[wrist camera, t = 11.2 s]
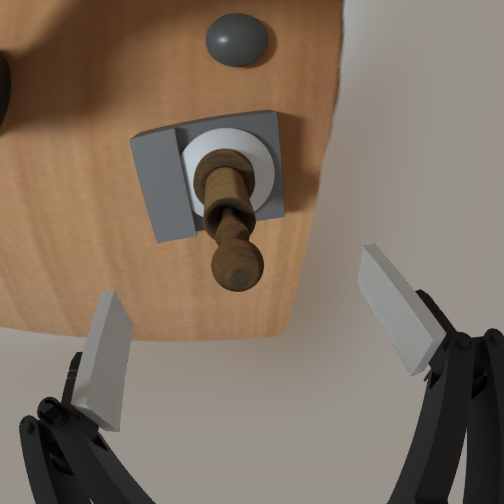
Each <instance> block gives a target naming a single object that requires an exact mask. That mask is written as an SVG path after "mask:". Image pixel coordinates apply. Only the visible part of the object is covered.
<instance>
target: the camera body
mask: <svg viewBox="0 0 504 504" xmlns="http://www.w3.org/2000/svg"><path fill="white" fill-rule="evenodd" d="M129 141H130V145H131V149H132V154H133V158H134V162H135V166H136V170H137V174H138V178H139V182H140V185H141V189H142V193H143V196H144V200H145V204H146V207H147V211H148V214H149V217H150V221H151V224H152V227H153V231H154V234H155V237H156V240H157V243H161V242H166V241H172V240H177V239H183V238H188V237H194V236H197V231H201V230H205V228H204V224H203V214H204V205H203V204H202V203H201V202H200V201H199V200H198V198H197V197H196V194H195V192H194V188H193V179H194V173H195V170H196V167H197V165H198V163H199V162H200V160H201V159H202V158H203V157H204V156H205V155H206V154H208V153H209V152H211V151H213V150H216V149H223V148H226V149H232V150H235V151H237V152H239V153H241V154H242V155H243V156H244V157H245V158H246V159H247V160H248V161H249V163H250V165H251V167H252V169H253V172H254V176H255V188H254V191H253V194H252V196H251V197H250V202H251V205H252V207H253V210H254V213H255V217H256V221H260V220H267V219H273V218H280V217H285V211H284V195H283V180H282V166H281V153H280V141H279V129H278V118H277V112H275V111H272V110H262V111H252V112H244V113H236V114H229V115H222V116H215V117H209V118H203V119H198V120H193V121H187V122H182V123H178V124H173V125H168V126H164V127H160V128H155V129H151V130H147V131H143V132H140V133H139V134H137V135H135V136H134V137H132V138H131V139H129Z"/></svg>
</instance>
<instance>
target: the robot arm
mask: <svg viewBox="0 0 504 504" xmlns="http://www.w3.org/2000/svg"><path fill="white" fill-rule="evenodd" d="M9 95H10V72H9V68H8V65H7V63H6V61H5V59H4V58H3V57H2V56H1V55H0V125H1V123H2V121H3V118H4V116H5V113H6V110H7V106H8V101H9ZM357 286H358V288H359V289H360V291H361V293H362V294H363V296H364V297H365V299H366V300H367V302H368V304H369V305H370V307H371V308H372V310H373V312H374V313H375V315H376V317H377V318H378V320H379V321H380V323H381V325H382V326H383V328H384V330H385V332H386V333H387V335H388V336H389V338H390V340H391V342H392V343H393V345H394V347H395V349H396V350H397V352H398V354H399V356H400V357H401V359H402V361H403V363H404V364H405V366H406V368H407V370H408V372H409V374H410V376H413V375H415V374H418V373H420V372H422V371H424V370H425V368H426V367H427V365H428V364H429V365H430V367H431V370H430V371H429V372H428V374H427V375H426V377H425V379H424V381H426V380H427V379H428V382H427V387H426V392H425V396H424V401H423V405H422V409H421V413H420V416H419V420H418V424H417V427H416V430H415V434H414V437H413V441H412V444H411V447H410V449H409V452H408V455H407V458H406V461H405V464H404V466H403V469H402V471H401V474H400V476H399V479H398V481H397V483H396V486H395V488H394V490H393V493H392V495H391V497H390V499H389V501H388V503H387V504H448V500H447V499H448V496H449V493H450V490H451V487H452V484H453V481H454V478H455V474H456V471H457V467H458V464H459V460H460V456H461V451H462V448H463V443H464V438H465V434H466V428H467V463H466V464H467V465H466V478H465V489H464V497H463V504H504V336H503V334H502V333H501V332H500V331H499V330H497V329H493V328H491V329H488V330H487V331H486V333H485V334H484V336H482V337H473V338H471V337H470V336H469V335H468V334H466V333H463V332H457V331H456V330H455V328H454V327H453V326H452V324H451V323H450V321H449V320H448V319H447V317H446V316H445V315H444V313H443V312H442V311H441V310H440V309H439V307H438V306H437V304H435V302H434V301H433V299H432V298H431V297H430V296H429V295H428V294H427V293H425V292H424V291H422V290H421V289H420V290H417V291H414V290H413V288H412V287H411V286H410V285H409V283H408V282H407V281H406V280H405V279H404V277H403V276H402V275H401V274H400V272H399V271H398V270H397V269H396V268H395V266H394V265H393V264H392V263H391V262H390V260H389V259H388V258H387V257H386V256H385V255H384V253H383V252H382V251H381V250H380V249H379V248H378V247H377V246H376V244H371V245H365V246H363V248H362V256H361V263H360V269H359V275H358V281H357ZM133 326H134V325H133V323H132V321H131V319H130V318H129V316H128V314H127V312H126V310H125V309H124V307H123V305H122V303H121V301H120V299H119V297H118V295H117V293H116V291H115V290H109V291H103V292H102V294H101V297H100V300H99V303H98V306H97V309H96V312H95V315H94V318H93V321H92V324H91V327H90V330H89V333H88V337H87V340H86V344H85V347H84V350H83V352H77V353H76V354H75V356H74V358H73V359H72V361H71V364H70V368H69V372H68V375H67V379H66V384H65V387H64V392H63V396H62V400H61V403H60V402H59V401H58V400H57V399H55V398H53V397H47V398H45V399H43V400H42V401H41V402H40V404H39V406H38V410H37V415H38V418H40V420H37V419H36V418H35V417H33V416H30V415H28V416H25V417H24V418H23V419H22V420H21V422H20V426H19V432H20V439H21V446H22V451H23V457H24V461H25V466H26V471H27V474H28V479H29V482H30V486H31V490H32V493H33V496H34V500H35V503H36V504H92V503H91V501H92V502H93V503H94V504H156V503H155V502H154V501H152V499H151V498H150V497H149V496H148V495H147V494H146V493H145V491H143V489H142V488H141V487H140V486H139V485H138V484H137V482H136V481H135V480H134V479H133V477H132V476H131V475H130V474H129V472H128V471H127V470H126V469H125V467H124V466H123V465H122V464H121V462H120V461H119V460H118V459H117V457H116V455H115V454H114V453H113V451H112V450H111V448H110V447H109V446H108V444H107V443H106V441H105V440H104V438H103V437H102V435H101V434H100V433H99V432H98V429H99V426H100V427H101V428H102V429H103V430H105V431H115V432H116V431H117V432H119V431H120V419H121V408H122V399H123V390H124V382H125V375H126V367H127V361H128V355H129V349H130V343H131V337H132V332H133ZM90 499H91V501H90Z"/></svg>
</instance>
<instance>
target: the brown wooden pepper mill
mask: <svg viewBox="0 0 504 504" xmlns="http://www.w3.org/2000/svg"><path fill="white" fill-rule="evenodd" d="M193 188H194V192H195V194H196V197H197V198H198V200H199V201H200V202H201V203H202V204H203V205H204V214H203V224H204V228H205V230H206V232H207V233H208V235H209V236H210V237H211V238H213V239H214V240H216V243H217V245H218V246H219V247H218V249H217V250H216V251H215V253H214V255H213V258H212V263H211V267H212V272H213V275H214V277H215V279H216V281H217V282H218V283H219V284H220V285H221V286H222V287H223V288H225V289H227V290H230V291H234V292H241V291H246V290H248V289H250V288H252V287H253V286H255V285H256V284H257V283H258V281H259V280H260V278H261V276H262V274H263V270H264V261H263V257H262V254H261V252H260V251H259V249H258V248H257V247H256V246H255V245H254V244H253V243H251V242H249V236H250V235H251V233H252V232H253V230H254V228H255V224H256V217H255V213H254V210H253V207H252V205H251V202H250V197H251V196H252V194H253V191H254V188H255V176H254V172H253V169H252V167H251V165H250V163H249V161H248V160H247V159H246V158H245V157H244V156H243V155H242V154H241V153H239V152H237V151H235V150H232V149H226V148H223V149H216V150H213V151H211V152H209V153H208V154H206V155H205V156H204V157H203V158H202V159H201V160H200V162H199V163H198V165H197V167H196V170H195V173H194V179H193Z"/></svg>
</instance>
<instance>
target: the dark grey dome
mask: <svg viewBox="0 0 504 504" xmlns="http://www.w3.org/2000/svg"><path fill="white" fill-rule="evenodd" d="M267 43H268V36H267V32H266V30H265V28H264V26H263V25H262V24H261V23H260V22H259V21H258V20H257V19H255V18H253V17H251V16H249V15H246V14H238V13H237V14H229V15H225V16H223V17H221V18H219V19H217V20H216V21H215V22H214V23H213V24H212V25H211V26H210V28H209V30H208V32H207V35H206V45H207V49H208V51H209V53H210V54H211V56H212V57H213V58H214V59H215V60H217V61H218V62H220V63H222V64H224V65H228V66H244V65H247V64H250V63H252V62H254V61H255V60H257V59H258V58H259V57H260V56H261V55H262V54H263V53H264V51H265V49H266V47H267Z"/></svg>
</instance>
